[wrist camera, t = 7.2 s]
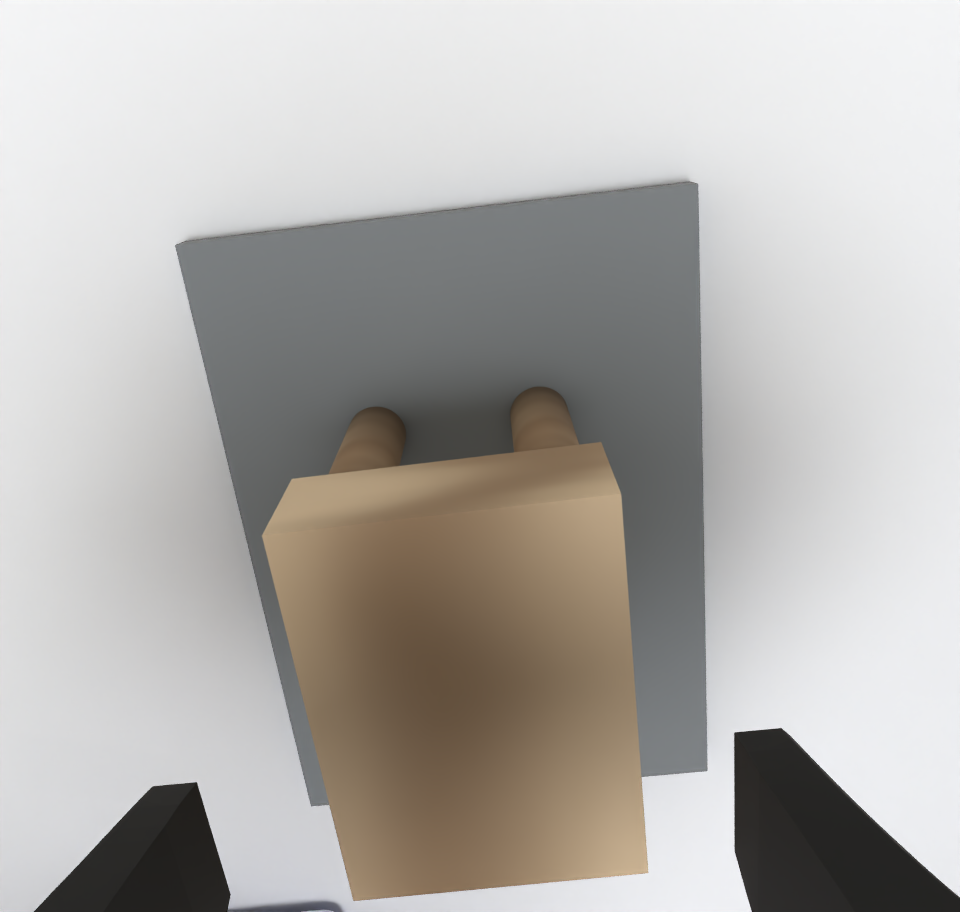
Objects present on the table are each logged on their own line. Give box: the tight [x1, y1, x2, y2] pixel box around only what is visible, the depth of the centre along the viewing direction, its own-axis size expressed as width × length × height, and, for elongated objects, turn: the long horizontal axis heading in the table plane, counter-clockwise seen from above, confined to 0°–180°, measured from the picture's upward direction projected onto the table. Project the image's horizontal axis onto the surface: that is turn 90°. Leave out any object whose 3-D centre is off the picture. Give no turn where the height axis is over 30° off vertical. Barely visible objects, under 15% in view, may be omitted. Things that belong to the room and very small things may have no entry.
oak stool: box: [262, 387, 648, 901], centre depth 16 cm, size 5×7×6 cm
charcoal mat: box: [175, 182, 707, 806], centre depth 19 cm, size 14×10×1 cm
